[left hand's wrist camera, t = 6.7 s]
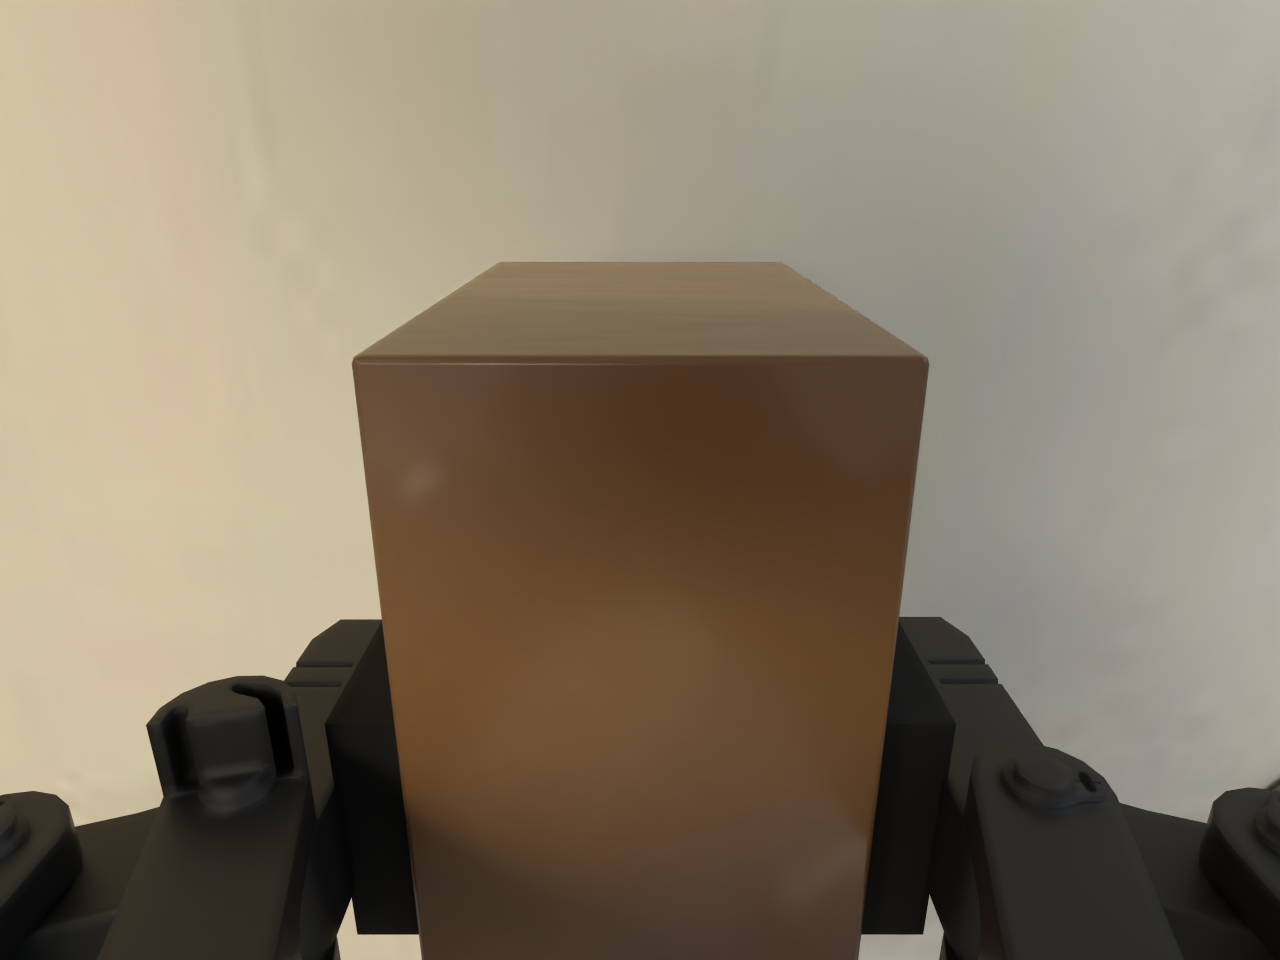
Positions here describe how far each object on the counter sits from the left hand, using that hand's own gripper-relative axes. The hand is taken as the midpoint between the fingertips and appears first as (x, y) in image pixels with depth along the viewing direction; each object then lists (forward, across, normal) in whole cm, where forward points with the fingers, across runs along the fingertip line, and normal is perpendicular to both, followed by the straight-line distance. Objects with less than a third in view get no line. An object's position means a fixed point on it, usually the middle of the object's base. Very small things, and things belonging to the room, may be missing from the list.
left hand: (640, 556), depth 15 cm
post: (0, 0, -25) cm, 25 cm away
